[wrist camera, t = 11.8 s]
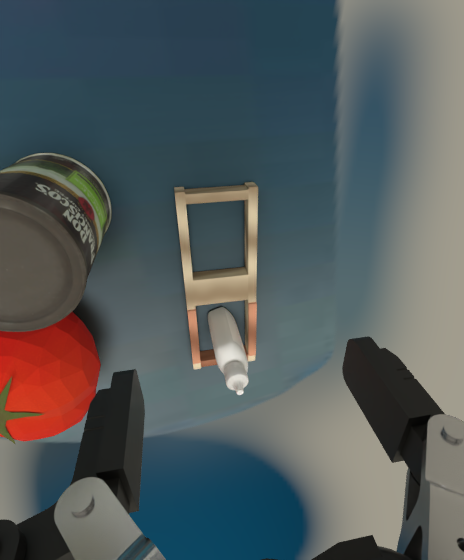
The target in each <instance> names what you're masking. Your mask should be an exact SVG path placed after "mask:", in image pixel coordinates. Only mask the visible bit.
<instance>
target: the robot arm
mask: <svg viewBox="0 0 464 560" xmlns="http://www.w3.org/2000/svg"><path fill="white" fill-rule="evenodd" d="M343 376H344V380H345V382H346V384H347V386H348V388H349V389H350V391H351V393H352V394H353V396H354V398H355V400H356V401H357V403H358V405H359V407H360V408H361V410H362V412H363V413H364V415H365V417H366V419H367V420H368V422H369V424H370V425H371V427H372V429H373V431H374V432H375V434H376V436H377V437H378V439H379V441H380V443H381V444H382V446H383V448H384V450H385V451H386V453H387V455H388V456H389V458H390V460H391V461H392V462H393V463H394V462H399V461H405V463H406V464H407V466H408V470H407V475H406V487H405V498H404V509H403V520H402V528H401V533H400V537H399V541H398V545H397V551H394V550H391V549H388V548H384V547H379V546H377V544H376V542H375V540H374V538H373V535H371V536H366V537H361V538H357V539H353V540H348V541H343V542H339V543H337V544H336V545H334V546H332V547H331V548H329V549H328V550H326V551H325V552H323V553H321V554H320V555H318V556H317V557H315V558H313V559H312V560H464V422H463V421H462V420H460V419H458V418H456V417H453V416H450V415H446V414H444V412H443V411H442V410H441V409H440V408H439V406H438V405H437V404H436V403H435V401H434V400H433V399H432V398H431V397H430V395H429V394H428V393H427V392H426V390H425V389H424V388H423V387H422V386H421V384H420V383H419V382H418V381H417V380H416V379H414V376H413V375H412V373H411V372H410V371H409V370H407V367H406V366H405V365H404V364H403V362H402V361H401V360H400V359H399V358H398V357H397V356H396V355H394V354H393V353H391V352H390V351H389V350H387V349H386V348H382V349H380V348H379V347H378V346H377V344H376V343H375V342H374V341H373V339H372V338H370V337H362V338H355V339H349V340H348V342H347V347H346V353H345V357H344V362H343ZM144 416H145V409H144V399H143V395H142V391H141V387H140V383H139V379H138V375H137V371H136V370H135V369H134V370H127V371H120V372H114V373H113V376H112V382H111V388H109V389H102V390H99V391H98V392H97V394H96V395H95V397H94V398H93V400H92V401H91V403H90V406H89V410H88V415H87V420H86V423H85V428H84V432H83V436H82V441H81V446H80V450H79V454H78V458H77V463H76V467H75V471H74V476H73V479H72V482H71V484H70V486H69V487H68V488H67V489H66V490H65V491H64V493H63V494H62V495H61V497H60V499H59V500H58V501H57V502H56V503H55V504H54V505H52V506H51V507H50V508H48V509H46V510H45V511H43V512H41V513H39V514H37V515H35V516H33V517H31V518H29V519H27V520H25V521H23V522H21V523H19V524H17V525H16V524H15V523H14V522H12V521H10V520H0V560H165V558H164V557H163V556H162V554H161V553H160V551H159V550H158V549H157V547H156V546H155V545H154V544H153V542H152V541H151V540H150V539H149V538H146V537H145V536H144V535H143V534H142V532H141V531H140V530H139V528H138V527H137V526H136V524H135V523H134V521H133V520H132V519H131V517H130V516H129V513H130V512H136V511H139V497H140V481H141V465H142V464H141V463H142V447H143V432H144ZM262 560H275V559H262Z"/></svg>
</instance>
